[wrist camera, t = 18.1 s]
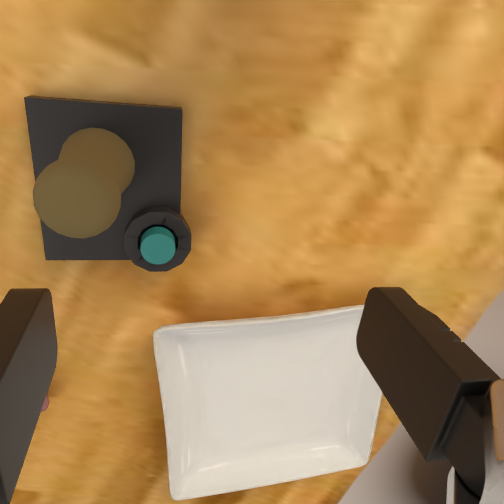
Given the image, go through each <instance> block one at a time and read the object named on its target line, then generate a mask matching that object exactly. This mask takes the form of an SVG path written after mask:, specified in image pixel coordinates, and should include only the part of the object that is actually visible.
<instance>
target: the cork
mask: <svg viewBox="0 0 504 504" xmlns="http://www.w3.org/2000/svg"><path fill="white" fill-rule="evenodd" d="M134 174H135V161H134V158H133V154H132V151H131V150H130V148H129V147H128V145H127V144H126V142H125V141H124V140H122V139H121V138H120V137H119V136H117V135H116V134H115V133H112V132H110V131H108V130H105V129H101V128H92V127H91V128H86V129H81V130H79V131H77V132H75V133H74V134H72V135H70V136H69V137H68V139H67V140H66V141H65V142H64V144H63V146H62V149H61V152H60V155H59V158H58V160H57V161H55V162H53V163H52V164H50V165H48V166H47V167H46V168H45V169H44V170H43V171H42V172H41V174H40V175H39V176H38V177H37V179H36V182H35V186H34V189H33V198H34V206H35V209H36V211H37V213H38V215H39V217H40V218H41V219H42V221H43V222H44V223H45V224H46V225H47V226H48V227H49V228H51V229H52V230H54V231H55V232H57V233H58V234H61V235H64V236H67V237H70V238H88V237H92V236H96V235H98V234H100V233H101V232H103V231H105V230H106V229H108V228H109V227H110V226H111V225H112V223H113V222H114V221H115V220H116V218H117V215H118V213H119V210H120V207H121V194H122V193H123V191H124V190H125V189H126V188H127V187H128V186H129V185H130V183H131V181H132V179H133V176H134Z"/></svg>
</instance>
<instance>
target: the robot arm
mask: <svg viewBox="0 0 504 504" xmlns="http://www.w3.org/2000/svg"><path fill="white" fill-rule="evenodd" d="M356 346H357V351H358V354H359V356H360V358H361V359H362V361H363V363H364V364H365V366H366V367H367V369H368V370H369V372H370V374H371V375H372V377H373V378H374V380H375V382H376V383H377V385H378V386H379V388H380V389H381V391H382V393H383V394H384V396H385V397H386V399H387V400H388V402H389V404H390V405H391V407H392V408H393V410H394V411H395V413H396V415H397V416H398V418H399V419H400V421H401V422H402V424H403V426H404V427H405V429H406V430H407V432H408V433H409V435H410V437H411V438H412V440H413V441H414V443H415V444H416V446H417V448H418V449H419V451H420V452H421V454H422V455H423V457H424V459H425V460H426V461H427V462H429V461H438V460H447V459H448V460H449V461H450V463H451V464H452V468H451V470H450V472H449V474H448V483H447V504H504V379H501V378H500V377H499V376H498V375H497V374H496V373H495V372H493V370H492V369H491V368H490V367H488V366H487V365H486V364H485V363H484V362H483V361H482V360H481V359H480V358H479V357H478V356H477V355H476V354H475V353H474V352H473V351H472V350H471V349H470V348H469V347H468V346H467V345H466V344H465V343H464V342H461V339H460V338H459V337H458V336H457V335H456V334H455V333H454V332H453V331H450V328H449V327H448V326H447V325H446V324H445V323H444V322H443V321H442V320H441V319H440V318H439V317H438V316H436V315H435V314H433V313H431V312H430V311H428V310H426V309H425V308H423V307H421V306H420V305H418V304H417V303H416V302H415V300H414V299H413V298H412V297H411V296H410V295H409V294H408V293H407V292H406V291H405V290H403V289H402V288H400V287H374V288H372V289H370V291H369V292H368V295H367V298H366V302H365V305H364V309H363V313H362V316H361V320H360V324H359V327H358V331H357V335H356ZM56 362H57V337H56V329H55V320H54V312H53V304H52V297H51V293H50V290H49V289H47V288H45V289H11V290H9V292H8V293H7V295H6V296H5V298H4V299H3V301H2V303H1V304H0V504H10V501H11V498H12V495H13V492H14V489H15V487H16V484H17V481H18V478H19V475H20V472H21V469H22V466H23V463H24V460H25V457H26V454H27V451H28V448H29V445H30V442H31V439H32V436H33V433H34V430H35V427H36V424H37V421H38V418H39V415H40V412H41V409H42V407H43V404H44V401H45V398H46V395H47V392H48V389H49V386H50V383H51V380H52V377H53V374H54V371H55V367H56Z"/></svg>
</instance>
